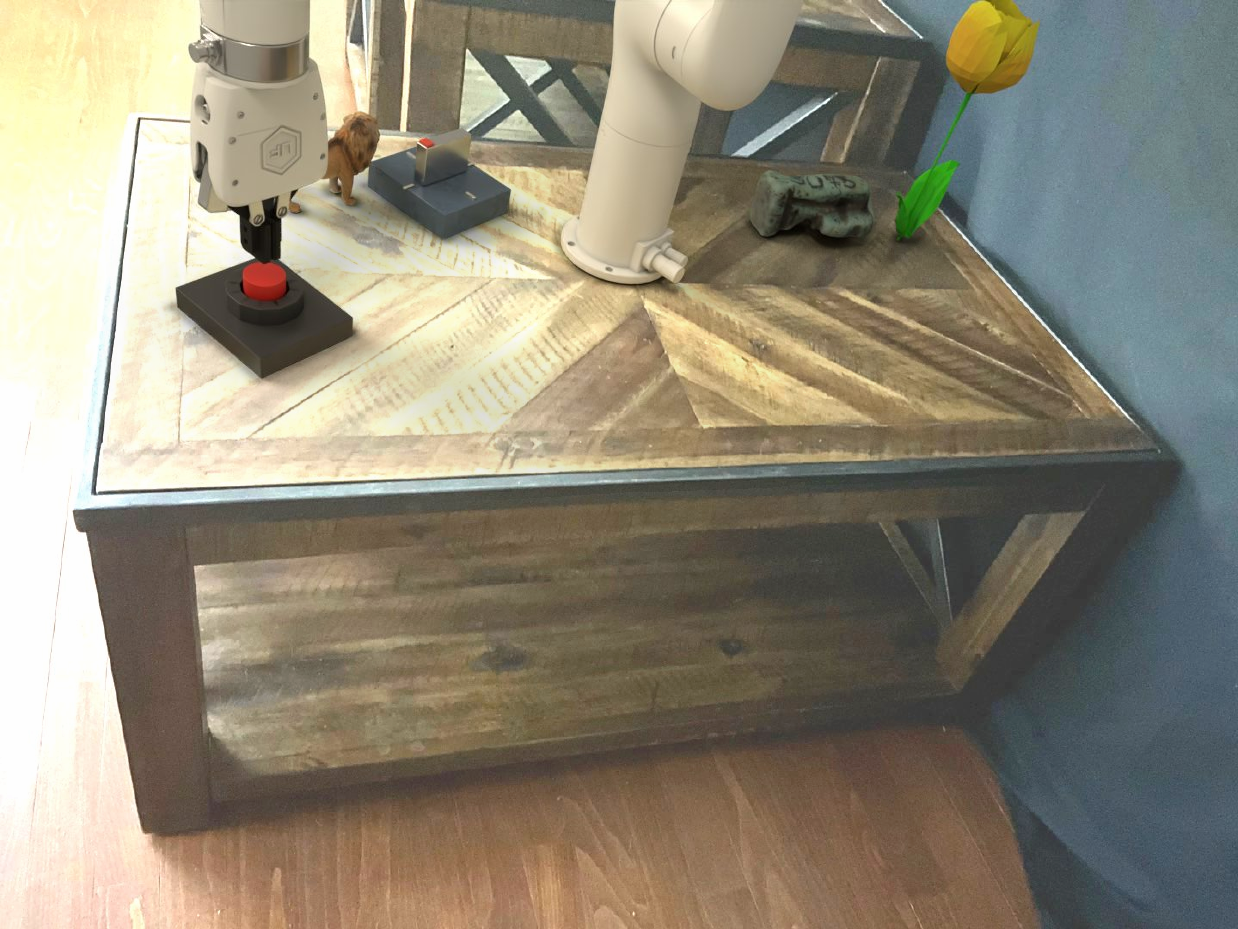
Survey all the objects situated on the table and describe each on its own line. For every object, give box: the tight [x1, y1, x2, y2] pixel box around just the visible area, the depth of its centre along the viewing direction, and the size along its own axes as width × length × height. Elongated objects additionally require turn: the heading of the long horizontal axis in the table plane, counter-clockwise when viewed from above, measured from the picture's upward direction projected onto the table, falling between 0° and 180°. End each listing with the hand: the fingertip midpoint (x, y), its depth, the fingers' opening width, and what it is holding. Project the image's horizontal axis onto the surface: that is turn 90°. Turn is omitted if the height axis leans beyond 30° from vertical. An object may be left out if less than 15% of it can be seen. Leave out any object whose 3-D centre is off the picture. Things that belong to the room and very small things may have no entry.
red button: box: [243, 262, 286, 301], centre depth 90 cm, size 4×4×2 cm
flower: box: [894, 0, 1041, 241], centre depth 120 cm, size 9×8×30 cm
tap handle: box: [414, 127, 473, 186], centre depth 110 cm, size 6×2×5 cm, turn 140°
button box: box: [175, 257, 354, 379], centre depth 92 cm, size 12×10×4 cm
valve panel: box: [367, 146, 512, 240], centre depth 113 cm, size 12×11×3 cm
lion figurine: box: [289, 110, 381, 214], centre depth 105 cm, size 15×5×9 cm, turn 129°
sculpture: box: [749, 170, 876, 238], centre depth 125 cm, size 12×8×15 cm
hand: (261, 253), depth 88 cm, fingers closed
